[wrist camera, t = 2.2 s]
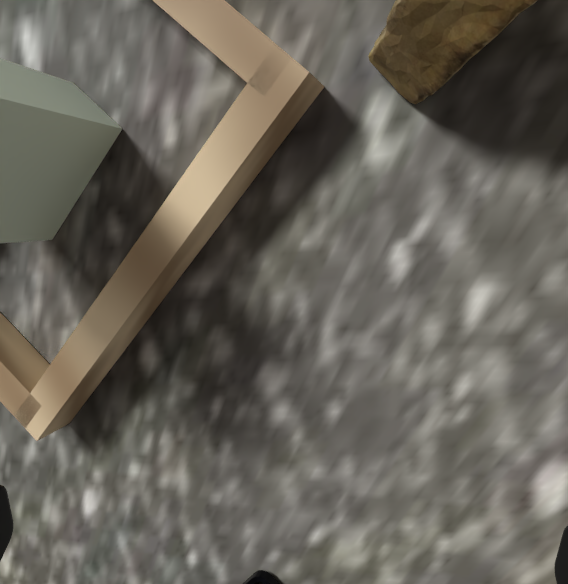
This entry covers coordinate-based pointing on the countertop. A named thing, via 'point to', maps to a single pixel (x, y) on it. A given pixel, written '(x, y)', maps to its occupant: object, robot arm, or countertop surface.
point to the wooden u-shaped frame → (166, 220)
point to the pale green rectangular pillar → (45, 150)
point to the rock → (437, 40)
